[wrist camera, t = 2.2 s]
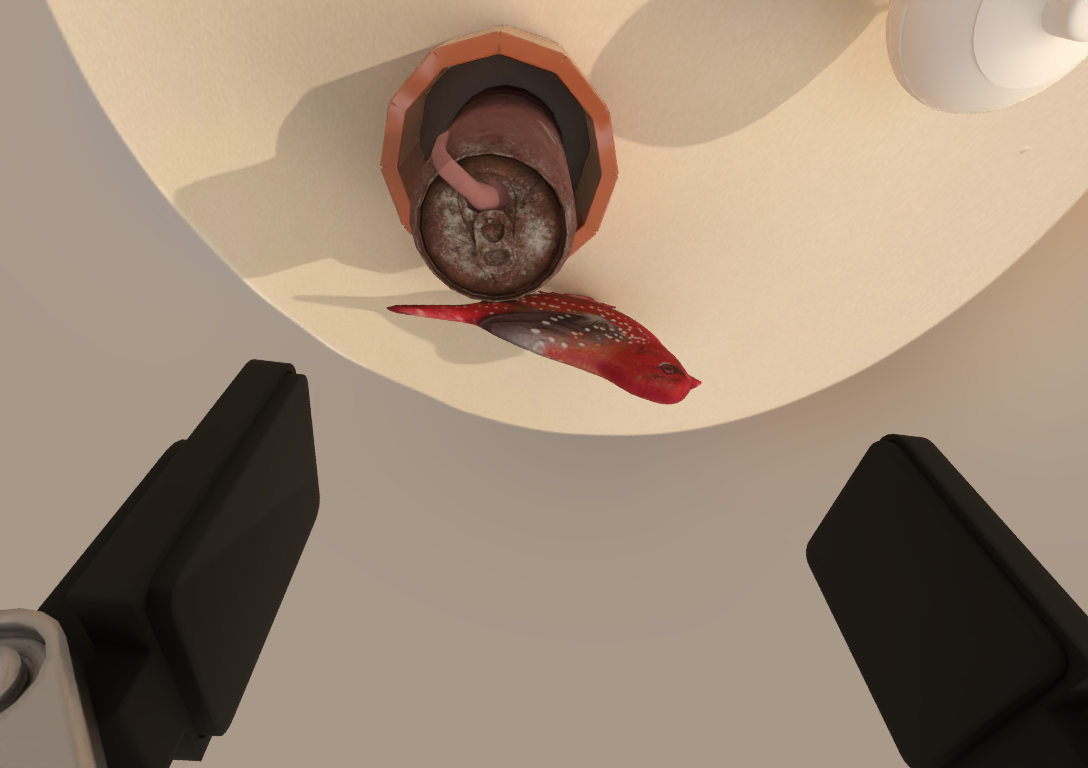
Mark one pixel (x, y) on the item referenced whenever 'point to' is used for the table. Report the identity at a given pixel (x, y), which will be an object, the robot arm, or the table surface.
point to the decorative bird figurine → (577, 339)
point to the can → (496, 198)
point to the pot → (408, 102)
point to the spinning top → (983, 49)
